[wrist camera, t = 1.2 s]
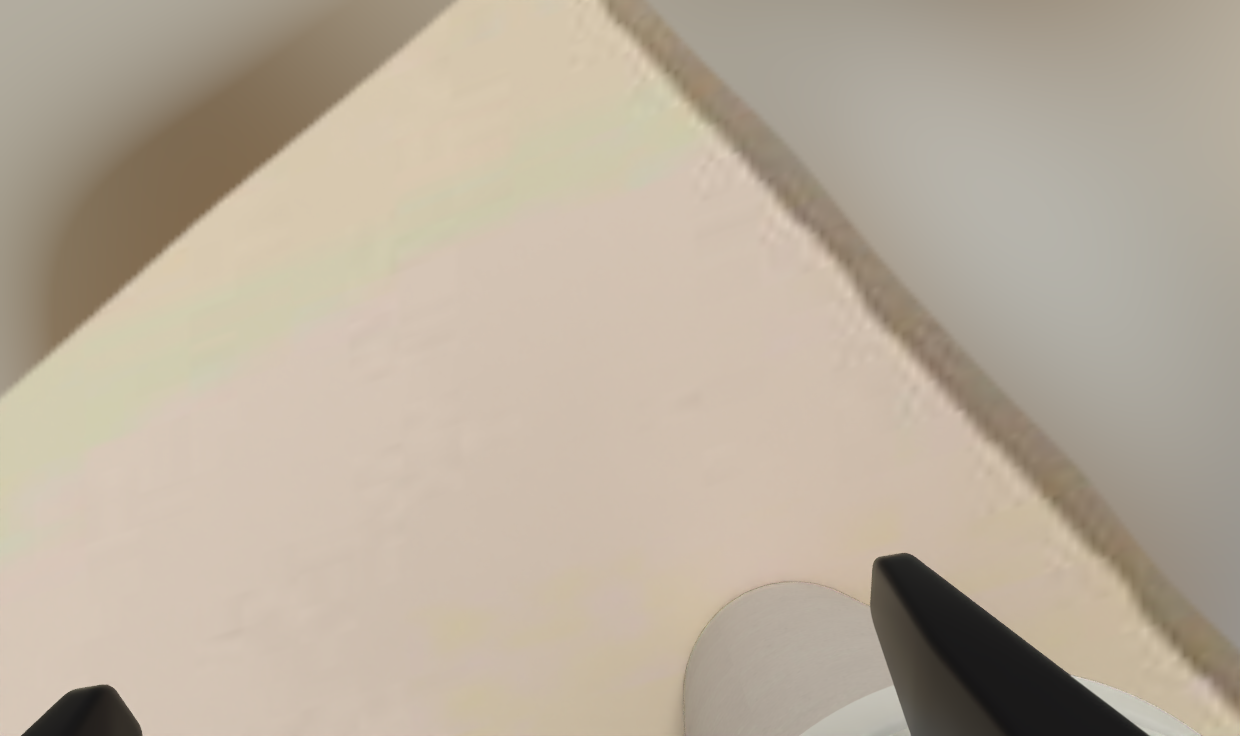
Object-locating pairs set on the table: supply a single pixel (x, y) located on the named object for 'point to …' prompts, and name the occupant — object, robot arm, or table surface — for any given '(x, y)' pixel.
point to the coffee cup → (818, 672)
